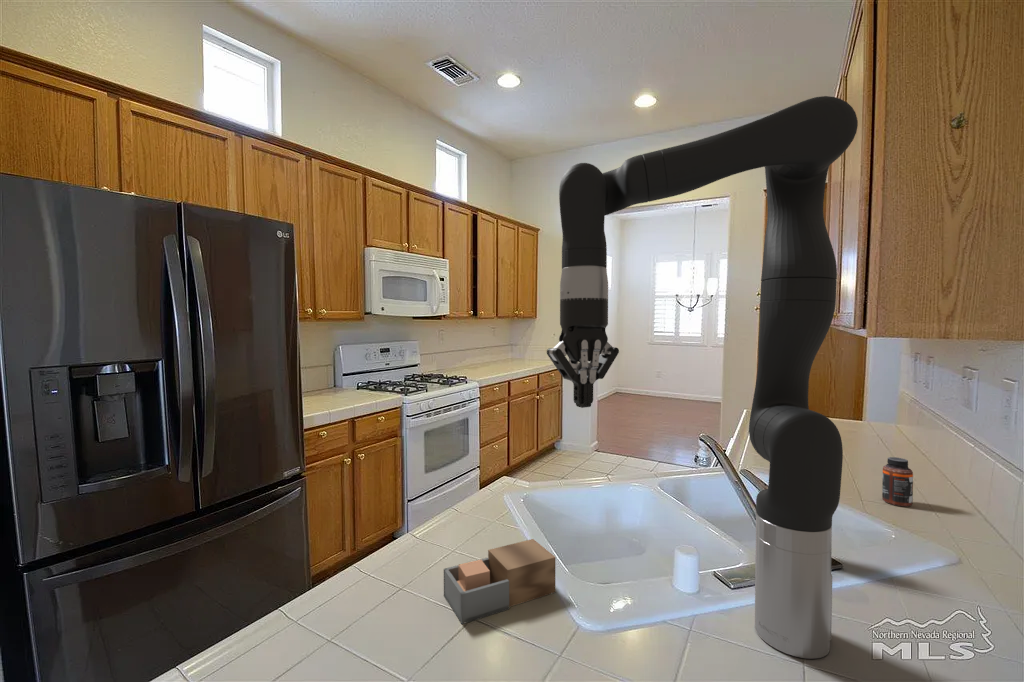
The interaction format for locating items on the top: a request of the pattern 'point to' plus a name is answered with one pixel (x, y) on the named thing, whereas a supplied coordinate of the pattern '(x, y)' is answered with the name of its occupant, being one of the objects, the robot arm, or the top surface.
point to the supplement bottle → (897, 482)
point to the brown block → (523, 570)
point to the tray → (475, 596)
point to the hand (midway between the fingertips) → (583, 406)
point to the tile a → (473, 575)
